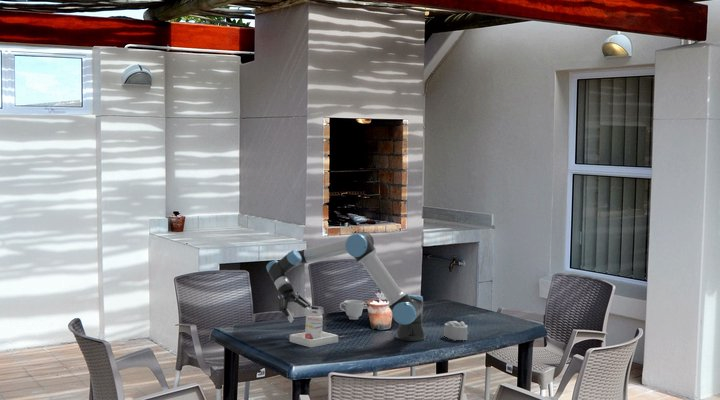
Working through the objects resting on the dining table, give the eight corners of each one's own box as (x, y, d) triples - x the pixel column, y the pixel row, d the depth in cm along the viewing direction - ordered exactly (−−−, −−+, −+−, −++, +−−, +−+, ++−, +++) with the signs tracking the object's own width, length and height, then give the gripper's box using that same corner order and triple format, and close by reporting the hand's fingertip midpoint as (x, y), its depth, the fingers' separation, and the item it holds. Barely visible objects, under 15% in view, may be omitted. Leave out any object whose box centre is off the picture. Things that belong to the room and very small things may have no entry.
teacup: (335, 317, 522) (336, 300, 522) (359, 316, 528) (360, 299, 527) (342, 321, 511) (343, 304, 510) (367, 320, 516) (367, 303, 516)
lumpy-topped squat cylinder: (456, 334, 485) (457, 319, 485) (471, 339, 474) (472, 323, 474) (441, 336, 480) (441, 320, 479) (456, 341, 469) (457, 325, 468)
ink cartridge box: (304, 339, 454) (305, 310, 453) (305, 337, 459) (306, 308, 458) (321, 339, 455) (322, 311, 454) (321, 337, 460) (322, 309, 459)
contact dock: (338, 342, 458) (338, 335, 458) (310, 347, 445) (310, 340, 445) (317, 336, 470) (317, 330, 469) (289, 341, 456) (289, 334, 456)
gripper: (298, 288, 484) (316, 320, 474) (262, 293, 466) (280, 326, 456) (305, 280, 479) (323, 312, 470) (269, 284, 462) (287, 318, 452)
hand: (302, 319), depth 463 cm, fingers open, 13 cm apart
